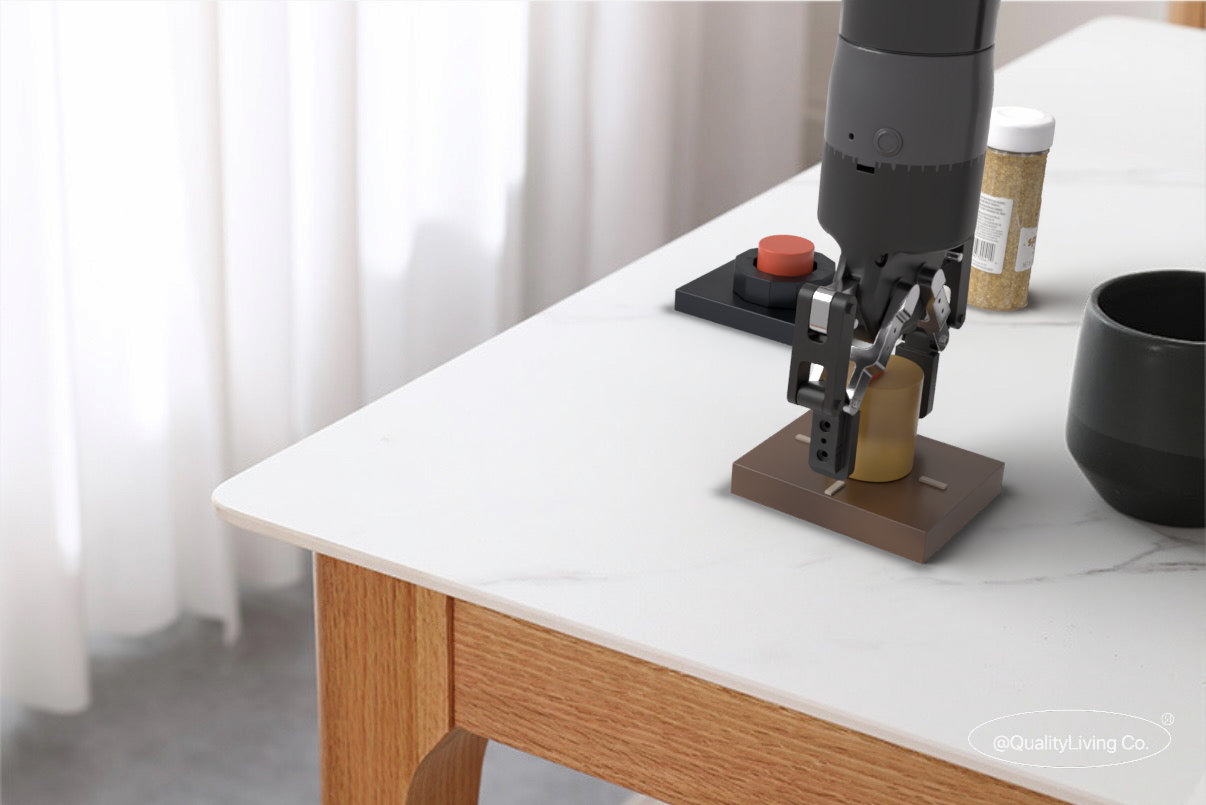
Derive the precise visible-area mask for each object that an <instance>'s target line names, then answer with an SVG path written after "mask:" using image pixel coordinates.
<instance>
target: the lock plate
mask: <svg viewBox="0 0 1206 805" xmlns="http://www.w3.org/2000/svg"><path fill="white" fill-rule="evenodd" d="M812 416H813V410H812V409H809V410H807V411H806V412H804V413H803V414H801V415H800V416H798V417H797V418H795V419H793V420H792V421H791V422H790V423H788V424H787V425H785V426H784V427H782V428H781V429H779V430H778V431H777V432H775V433H773V434H772V435H771V436H769V437H768V438H766V439H765V440H763V441H761V442H760V443H759V444H757V445H756V446H755V447H753V448H752V449H750V450H749V451H747V452H746V453H745V454H743V455H741V456H740V457H739V458H737V459H736V460H734V461H732V465H731V480H730V494H733V495H736V496H737V497H738V496H739V497H740V498H744V499H746V500H749V501H752V502H754V503H756V504H759V505H762V506H764V507H767V508H770V509H773V510H776V511H778V512H781V513H783V514H786V515H789V516H791V517H795V518H797V519H799V520H802V521H805V522H808V523H811V524H813V525H816V526H819V527H821V528H823V529H827V530H829V531H832V532H835V533H837V534H840V535H842V536H845V537H848V538H851V539H854V540H856V541H858V542H861V543H864V544H867V545H869V546H872V547H875V548H877V549H880V550H883V551H885V552H888V553H891V554H894V555H896V556H899V557H901V558H905V559H907V560H909V561H912V562H914V563H917V564H920V565H924V564H925V563H926V562H927V561H929V559H930V558H931V557H933V555H935V554H936V553H937V552H938V551H939V550H940V549H941V548H942V547H943V546H945V545H946V544H947V543H948V542H949V541H950V540H951V539H952V538H953V537H954V536H956V534H957V533H959V532H960V531H961V530H962V529H963V528H964V527H965V526H966V525H967V524H968V523H970V522H971V521H972V520H973V519H974V518H975V517H976V516H977V515H978V514H979V513H981V511H982V510H984V509H985V508H986V507H987V506H988V505H989V504H990V503H991V502H992V501H993V500H994V499H996V498H997V497H998V496H999V495H1000V494H1001V492H1002V486H1003V480H1004V473H1005V466H1006V462H1005V461H1001V460H999V459H996V458H993V457H989V456H987V455H983V454H980V453H977V452H974V451H971V450H967V449H965V448H962V447H959V446H956V445H953V444H949V443H947V442H943V441H940V440H937V439H935V438H934V439H933V438H931V437H928V436H924V435H921V434H918V433H917V436H916V444H915V452H914V461H913V467H912V470H911V471H910V472H909V473H908V474H907V475H906V476H904V477H902V478H900V479H897V480H893V481H886V482H869V481H862V480H857V479H853V478H850V477H848V478H846V479H845V480H843V481H839V480H836V479H833V478H830V477H827V476H824V475H822V474H819V473H816V472H814V471H813V470H812V469H811V468H810V466H809V463H808V460H809V449H810V438H811V427H812Z"/></svg>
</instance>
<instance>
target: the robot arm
mask: <svg viewBox="0 0 1206 805" xmlns="http://www.w3.org/2000/svg"><path fill="white" fill-rule="evenodd" d="M1001 2H1002V0H840V10H839V11H840V12H839V22H838V34H837V40H836V47H835V50H834V51H835V52H834V54H833V55H834V56H833V61H832V65H831V68H830V73H829V78H828V83H827V85H828V86H827V95H826V106H825V118H824V129H823V140H822V141H823V142H822V154H821V163H820V173H819V174H820V175H819V188H818V197H817V198H818V200H817V209H816V210H817V211H816V217H817V221H818V224H819V225H820V227H821V228H822V229H823V231H824V232H825V233H826V234H828V235H829V236H830V237H831V238H833V239H834V241H835V242H836V243H837V245H838V247H839V249H840V255H839V259H838V263H837V266H836V273H835V275H834V279H833V283H832V284H830V285H828V286H826V287H823V286H817V285H813V284H810V283H805V284H804V285H803V286H802V287H801V289H800V291H799V294H798V299H797V308H796V317H795V326H794V335H793V344H792V346H791V354H790V362H789V373H788V381H787V389H786V400H787V402H788V403H789V404H793V405H795V406H800V407H803V408H806V409H809V410H810V409H812V410H813V416H812V427H811V438H810V449H809V460H808V463H809V466H810V468H811V469H812V470H813V471H814V472H816V473H819V474H822V475H824V476H827V477H830V478H833V479H836V480H839V481H843V480H845V479H846V478H848V477H849V476H850V475H852V474H853V472H854V470H855V461H856V451H857V442H858V432H859V423H860V413H861V411H860V410H859V408H860V405H861V403H862V400H863V398H864V395H865V393H866V390H867V388H868V385H869V382H870V380H871V378H872V376H873V375H875V374H878V373H881V372H882V371H884V370H885V368H886V366H887V364H888V361H889V358H890V356H891V354H893V351H894V355H896V356H900V357H903V358H906V359H908V360H910V361H912V362H914V363H916V364H917V365H918V366H919V367H920V368H921V369H922V370H923V373H924V380H923V388H922V396H921V404H920V412H919V420H922V419H925V418H926V417H927V416H929V415H930V414H931V413H932V412H933V410H934V403H935V394H936V387H937V379H938V378H937V377H938V371H939V363H940V356H941V355H940V354H941V353H942V352H944V351H945V349H946V348H947V346H948V344H949V342H950V329H955V330H960V329H961V328H962V327H963V325H964V323H965V321H966V317H967V307H968V303H967V299H968V290H969V281H970V272H971V263H972V254H973V245H974V236H975V230H976V225H977V218H978V210H979V203H980V195H981V188H982V180H983V173H984V165H985V158H986V150H987V143H988V135H989V128H990V120H991V113H992V108H993V105H994V95H995V47H996V44H995V43H996V40H997V31H998V24H999V19H1000V10H1001V9H1000V8H1001ZM944 286H945V287H947V288H949V289H948V290H950V295H949V300H948V297H947V293H946V289H945V287H944ZM853 339H854V340H857V341H860V342H863V343H867V344H870V345H871V346H869V347H867V348H863V347H859V346H856V345H853ZM898 340H899V341H901V342H899V343H898V344H896V343H897V341H898ZM894 348H895V349H894ZM940 352H941V353H940ZM813 364H814V368H813V370H812V373H811V368H812V365H813ZM849 365H852V366H855V369H854V371H853V374H852V376H851V379H850V381H849V384H848V386H847V388H846V385H847V377H848V369H849Z"/></svg>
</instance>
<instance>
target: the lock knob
mask: <svg viewBox="0 0 1206 805" xmlns="http://www.w3.org/2000/svg"><path fill="white" fill-rule="evenodd" d="M854 369H855V366H852V365H849V369H848V377H847V385H846V388H847V386H848V384H849V381H850V379H851V376H852V374H853V371H854ZM923 380H924V373H923V370H922V369H921V368H920V367H919V366H918V365H917V364H916V363H914V362H912V361H910V360H908V359H906V358H903V357H900V356H896V355H895V354H893V353H891V356H890V358H889V361H888V364H887V366H886V368H885V370H884V371H882V372H881V373H878V374H875V375H873V376H872V378H871V380H870V382H869V385H868V388H867V390H866V393H865V395H864V398H863V400H862V403H861V405H860V408H859V410H860V411H861V413H860V423H859V432H858V442H857V451H856V461H855V470H854V472H853V474H852V475H850V476H849V477H850V478H853V479H857V480H862V481H869V482H886V481H893V480H897V479H900V478H902V477H904V476H906V475H907V474H908V473H909V472H910V471H911V470H912V467H913V461H914V452H915V444H916V436H917V434H918V428H919V420H920V419H919V412H920V404H921V396H922V388H923Z"/></svg>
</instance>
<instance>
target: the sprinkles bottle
mask: <svg viewBox="0 0 1206 805" xmlns="http://www.w3.org/2000/svg"><path fill="white" fill-rule="evenodd" d="M1055 130H1056V118H1055V117H1054V116H1053V115H1052V114H1051V113H1049V112H1046V111H1044V110H1040V109H1038V108H1037V109H1036V108H1032V107H1026V106H997V107H992V113H991V120H990V128H989V135H988V143H987V150H986V158H985V165H984V173H983V180H982V188H981V195H980V203H979V210H978V218H977V225H976V230H975V236H974V245H973V254H972V263H971V272H970V281H969V290H968V299H967V304H969V305H971V306H973V307H975V308H979V309H982V310H986V311H993V312H1014V311H1019V310H1021V309H1024V308H1026V307H1027V306H1028V304H1029V301H1028V297H1029V296H1028V295H1029V290H1030V289H1029V288H1030V280H1031V276H1032V275H1031V274H1032V267H1033V266H1034V261H1035V253H1036V244H1037V237H1038V230H1039V223H1040V216H1041V209H1042V202H1043V198H1042V196H1043V189H1044V182H1045V177H1046V168H1047V164H1048V163H1047V162H1048V161H1047V159H1048V155H1049V153H1050V150H1051V148H1052V147H1053V144H1054V139H1055V138H1054V137H1055Z"/></svg>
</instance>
